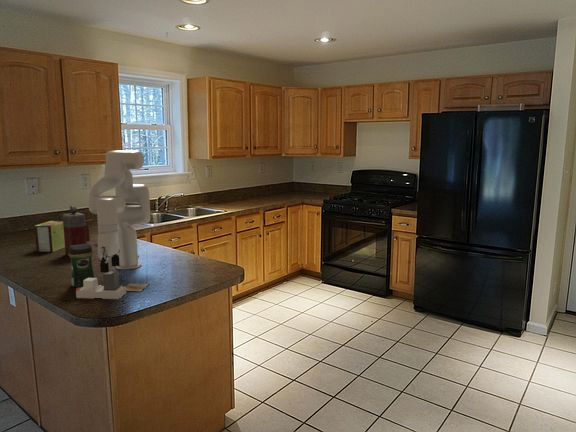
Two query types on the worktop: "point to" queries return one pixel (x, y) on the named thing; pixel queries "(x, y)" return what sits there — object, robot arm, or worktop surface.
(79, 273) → the coffee jar
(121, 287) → the power strip
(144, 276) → the worktop surface
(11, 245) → the worktop surface
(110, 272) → the block
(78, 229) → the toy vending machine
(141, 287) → the coaster
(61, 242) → the protein box
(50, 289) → the worktop surface
